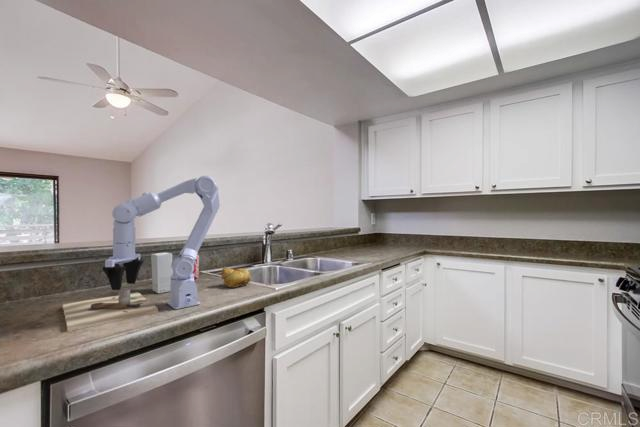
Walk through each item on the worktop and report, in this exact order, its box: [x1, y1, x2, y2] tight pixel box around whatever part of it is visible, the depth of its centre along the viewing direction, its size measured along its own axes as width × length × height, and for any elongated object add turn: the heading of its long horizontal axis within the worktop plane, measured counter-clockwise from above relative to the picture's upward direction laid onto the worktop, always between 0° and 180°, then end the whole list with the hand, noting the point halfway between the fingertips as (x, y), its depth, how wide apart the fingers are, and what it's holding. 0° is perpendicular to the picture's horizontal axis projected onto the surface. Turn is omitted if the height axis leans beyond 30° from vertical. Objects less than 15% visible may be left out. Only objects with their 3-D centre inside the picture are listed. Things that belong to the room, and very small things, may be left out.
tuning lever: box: [91, 289, 140, 309], centre depth 89 cm, size 14×3×5 cm, turn 94°
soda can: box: [193, 251, 200, 283], centre depth 130 cm, size 7×7×13 cm
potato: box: [220, 267, 252, 288], centre depth 123 cm, size 13×10×8 cm
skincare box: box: [150, 252, 173, 294], centre depth 114 cm, size 8×6×15 cm
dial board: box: [62, 291, 159, 332], centre depth 91 cm, size 26×21×1 cm
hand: (124, 286), depth 89 cm, fingers open, 7 cm apart
